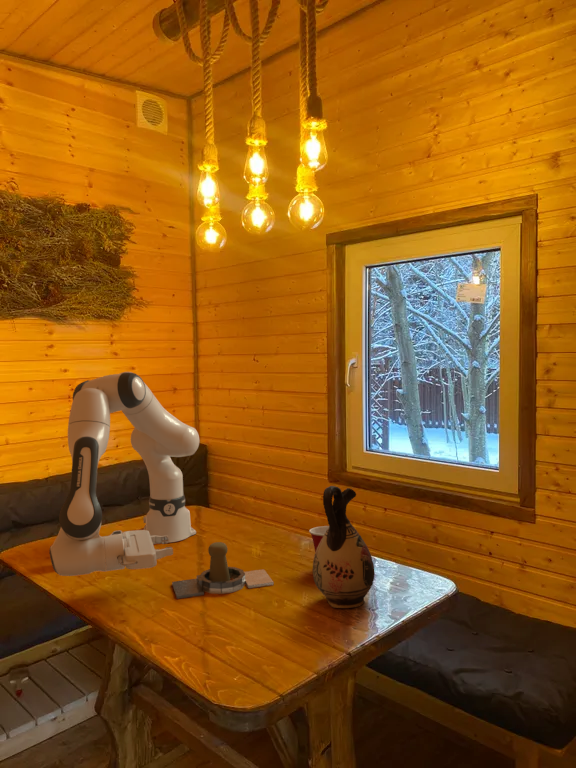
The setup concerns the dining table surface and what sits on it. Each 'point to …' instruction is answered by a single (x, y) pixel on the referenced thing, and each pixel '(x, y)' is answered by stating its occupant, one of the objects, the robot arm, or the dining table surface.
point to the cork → (218, 562)
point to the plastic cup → (318, 535)
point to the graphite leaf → (205, 583)
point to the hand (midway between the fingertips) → (170, 544)
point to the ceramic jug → (342, 555)
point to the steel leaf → (244, 582)
